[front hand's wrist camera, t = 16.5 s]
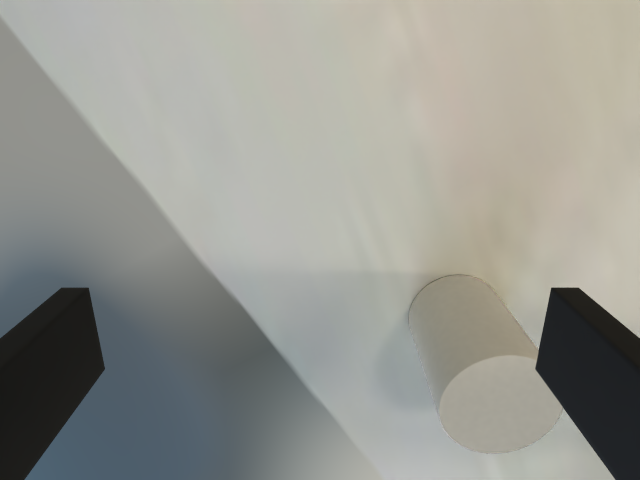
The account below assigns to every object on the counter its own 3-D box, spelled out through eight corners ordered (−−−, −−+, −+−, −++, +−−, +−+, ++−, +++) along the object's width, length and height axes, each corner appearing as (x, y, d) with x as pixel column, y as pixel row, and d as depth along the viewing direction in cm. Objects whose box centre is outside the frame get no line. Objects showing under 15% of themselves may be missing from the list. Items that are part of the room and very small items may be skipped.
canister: (416, 270, 34) (451, 350, 25) (510, 278, 35) (580, 360, 25) (402, 350, 37) (428, 449, 28) (489, 357, 37) (545, 458, 28)
